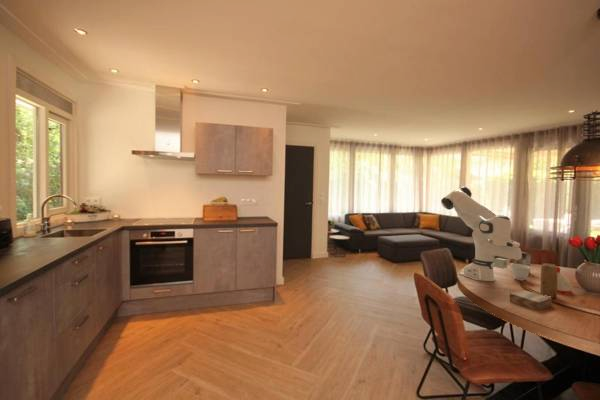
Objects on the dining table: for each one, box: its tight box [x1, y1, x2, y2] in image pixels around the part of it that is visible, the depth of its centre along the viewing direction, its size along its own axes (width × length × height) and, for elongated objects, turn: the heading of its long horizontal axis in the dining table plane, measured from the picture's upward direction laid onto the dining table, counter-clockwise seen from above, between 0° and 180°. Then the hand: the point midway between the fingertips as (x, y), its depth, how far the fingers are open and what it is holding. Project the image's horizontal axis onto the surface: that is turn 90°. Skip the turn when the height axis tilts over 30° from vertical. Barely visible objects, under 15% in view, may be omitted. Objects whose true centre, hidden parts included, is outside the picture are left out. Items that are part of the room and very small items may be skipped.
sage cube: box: [493, 257, 508, 270], centre depth 169 cm, size 5×5×5 cm
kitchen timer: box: [557, 266, 572, 294], centre depth 181 cm, size 14×14×15 cm
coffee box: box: [513, 250, 532, 274], centre depth 219 cm, size 9×6×16 cm
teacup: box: [509, 262, 532, 281], centre depth 203 cm, size 12×15×10 cm
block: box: [540, 262, 558, 298], centre depth 170 cm, size 11×8×20 cm
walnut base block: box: [509, 289, 553, 311], centre depth 159 cm, size 14×14×5 cm
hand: (500, 263), depth 169 cm, fingers closed on sage cube, 5 cm apart
